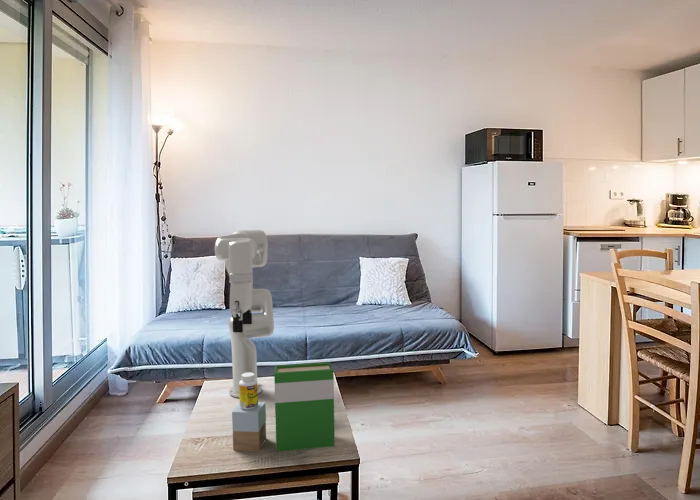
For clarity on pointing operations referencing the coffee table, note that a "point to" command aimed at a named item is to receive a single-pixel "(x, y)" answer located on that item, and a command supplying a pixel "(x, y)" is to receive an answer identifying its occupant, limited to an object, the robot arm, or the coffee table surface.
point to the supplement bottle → (248, 391)
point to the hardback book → (304, 406)
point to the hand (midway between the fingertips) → (242, 328)
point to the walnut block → (249, 439)
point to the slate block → (249, 418)
